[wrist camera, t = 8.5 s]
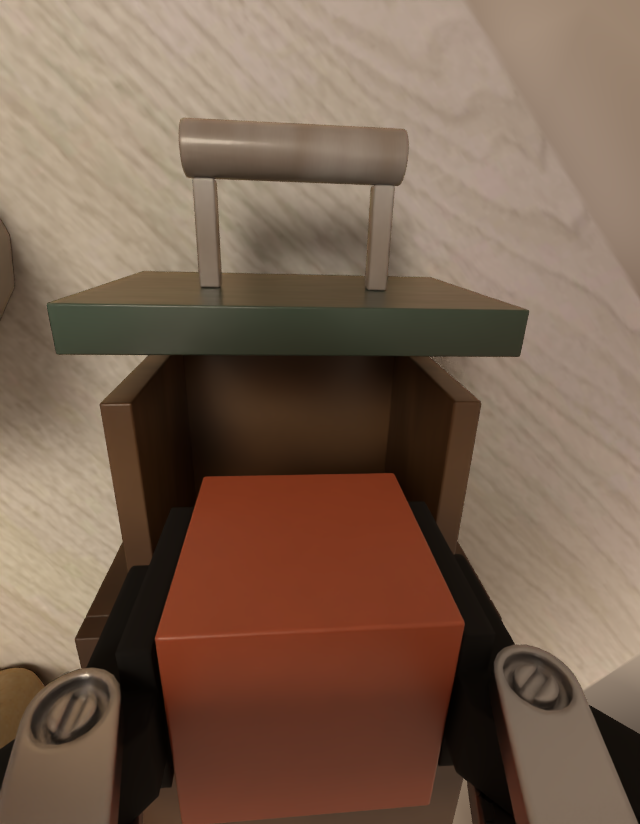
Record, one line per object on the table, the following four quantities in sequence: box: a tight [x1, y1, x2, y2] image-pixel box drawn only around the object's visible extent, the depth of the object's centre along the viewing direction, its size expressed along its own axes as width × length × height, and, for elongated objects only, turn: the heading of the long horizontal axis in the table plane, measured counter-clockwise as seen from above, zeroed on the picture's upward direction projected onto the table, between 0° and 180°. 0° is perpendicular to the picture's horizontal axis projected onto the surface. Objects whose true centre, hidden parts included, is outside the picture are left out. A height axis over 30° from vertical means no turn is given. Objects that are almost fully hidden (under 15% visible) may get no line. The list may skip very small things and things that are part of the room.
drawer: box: [47, 118, 529, 572], centre depth 16 cm, size 18×11×8 cm, turn 178°
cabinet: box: [75, 541, 502, 824], centre depth 20 cm, size 15×13×10 cm
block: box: [155, 473, 465, 824], centre depth 9 cm, size 4×4×4 cm
